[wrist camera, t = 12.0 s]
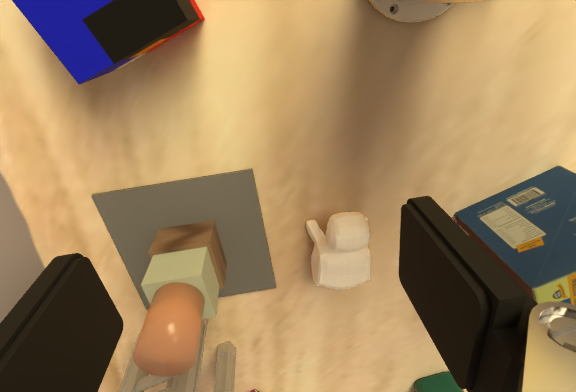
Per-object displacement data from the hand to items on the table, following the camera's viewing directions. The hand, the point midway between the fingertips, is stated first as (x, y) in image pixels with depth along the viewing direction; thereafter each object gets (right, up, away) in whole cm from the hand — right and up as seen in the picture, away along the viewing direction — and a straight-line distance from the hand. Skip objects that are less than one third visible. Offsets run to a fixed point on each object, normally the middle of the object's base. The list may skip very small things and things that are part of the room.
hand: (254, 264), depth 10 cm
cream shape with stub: (+8, -3, +38) cm, 39 cm away
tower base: (-12, -5, +36) cm, 38 cm away
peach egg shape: (-11, -10, +27) cm, 31 cm away
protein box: (+34, -1, +39) cm, 52 cm away
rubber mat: (-12, -5, +36) cm, 38 cm away
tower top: (-12, -7, +31) cm, 34 cm away
